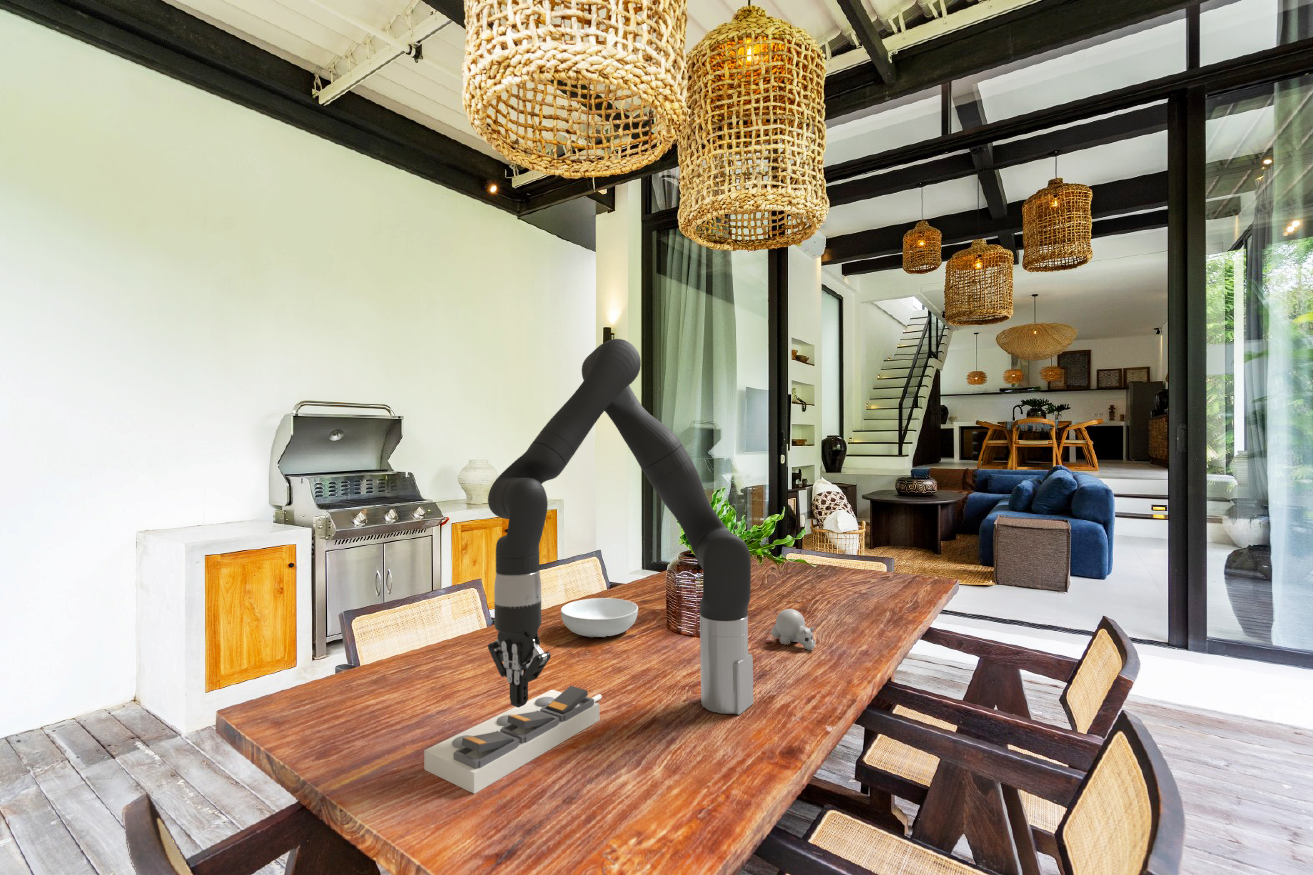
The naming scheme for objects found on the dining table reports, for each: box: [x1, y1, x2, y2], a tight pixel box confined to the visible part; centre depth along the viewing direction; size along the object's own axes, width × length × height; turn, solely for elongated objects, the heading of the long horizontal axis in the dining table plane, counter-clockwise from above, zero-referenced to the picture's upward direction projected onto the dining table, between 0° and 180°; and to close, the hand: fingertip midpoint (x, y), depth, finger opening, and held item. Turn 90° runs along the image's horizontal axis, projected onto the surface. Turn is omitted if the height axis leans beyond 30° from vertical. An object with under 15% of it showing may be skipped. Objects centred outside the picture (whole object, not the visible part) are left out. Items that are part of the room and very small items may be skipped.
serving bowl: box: [560, 597, 639, 638], centre depth 162 cm, size 21×21×7 cm
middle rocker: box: [507, 712, 553, 728], centre depth 100 cm, size 6×4×1 cm, turn 145°
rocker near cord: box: [547, 685, 589, 714], centre depth 108 cm, size 6×4×1 cm, turn 146°
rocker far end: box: [462, 732, 512, 752], centre depth 93 cm, size 6×4×1 cm, turn 145°
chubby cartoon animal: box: [770, 608, 816, 651], centre depth 149 cm, size 7×12×8 cm, turn 33°
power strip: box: [423, 689, 603, 795], centre depth 105 cm, size 36×12×4 cm, turn 145°
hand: (518, 704), depth 98 cm, fingers closed
